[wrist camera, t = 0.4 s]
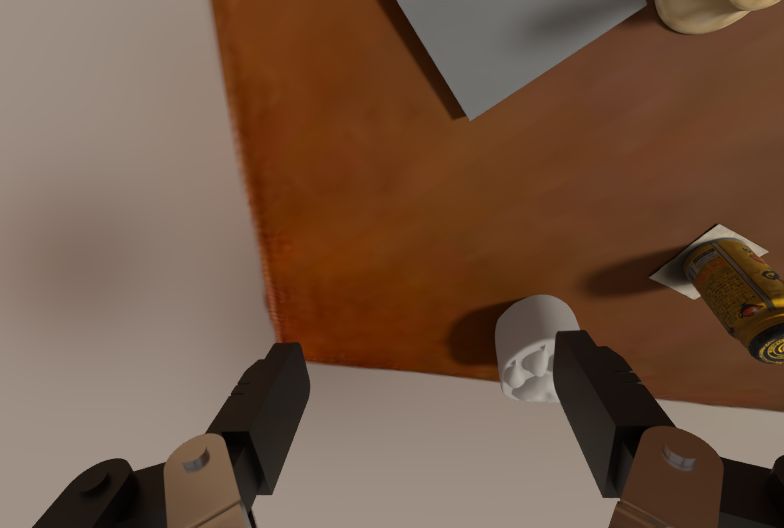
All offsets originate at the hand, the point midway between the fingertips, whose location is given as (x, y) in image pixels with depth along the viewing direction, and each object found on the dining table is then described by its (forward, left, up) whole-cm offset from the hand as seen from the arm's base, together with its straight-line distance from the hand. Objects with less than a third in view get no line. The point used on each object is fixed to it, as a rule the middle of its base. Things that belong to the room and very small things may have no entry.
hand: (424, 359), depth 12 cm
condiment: (+32, +15, -28) cm, 45 cm away
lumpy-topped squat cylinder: (+33, -5, -28) cm, 44 cm away
